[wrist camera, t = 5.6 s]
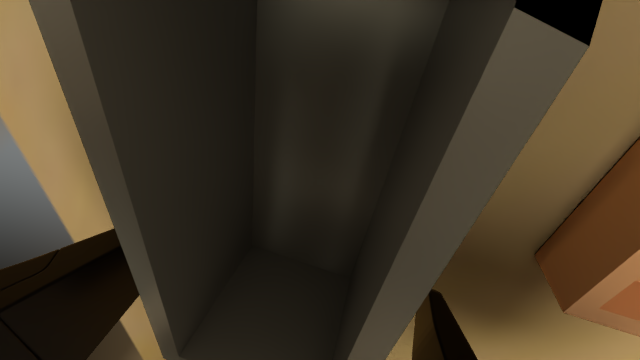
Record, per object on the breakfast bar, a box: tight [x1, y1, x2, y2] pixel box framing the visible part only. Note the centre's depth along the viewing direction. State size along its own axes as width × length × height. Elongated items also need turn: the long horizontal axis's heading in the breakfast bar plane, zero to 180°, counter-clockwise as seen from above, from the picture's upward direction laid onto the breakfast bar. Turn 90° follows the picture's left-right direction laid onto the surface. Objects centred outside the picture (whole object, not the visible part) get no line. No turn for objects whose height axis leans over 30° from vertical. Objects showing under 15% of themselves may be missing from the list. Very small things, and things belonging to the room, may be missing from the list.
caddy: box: [29, 0, 603, 360], centre depth 7 cm, size 11×5×5 cm, turn 171°
